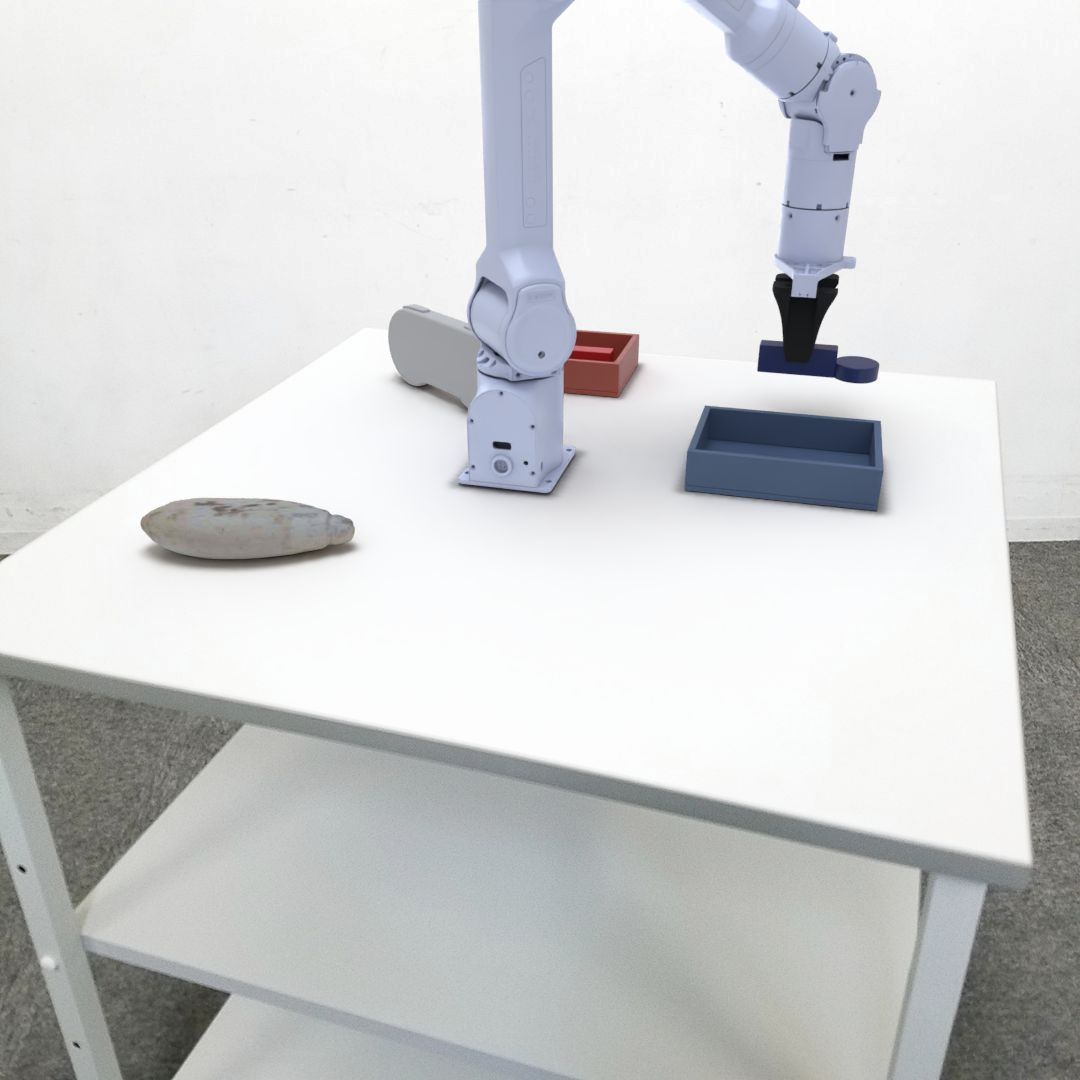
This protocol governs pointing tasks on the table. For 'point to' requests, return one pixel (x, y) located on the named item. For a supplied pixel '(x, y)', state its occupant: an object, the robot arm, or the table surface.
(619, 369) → the red bin
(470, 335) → the game controller
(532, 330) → the robot arm
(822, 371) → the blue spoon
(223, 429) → the table surface
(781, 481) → the blue bin
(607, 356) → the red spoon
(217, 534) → the decorative stone
